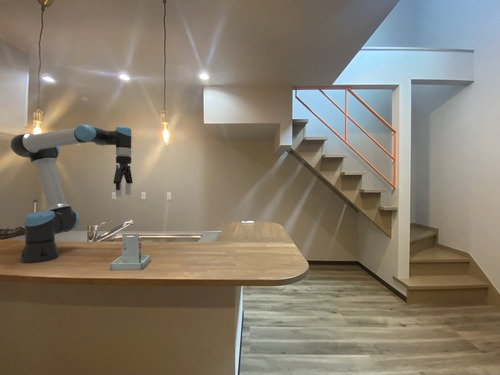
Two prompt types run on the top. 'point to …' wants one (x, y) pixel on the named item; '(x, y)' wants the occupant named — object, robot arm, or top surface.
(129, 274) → the top surface
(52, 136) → the robot arm
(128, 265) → the tray
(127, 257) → the ink box
